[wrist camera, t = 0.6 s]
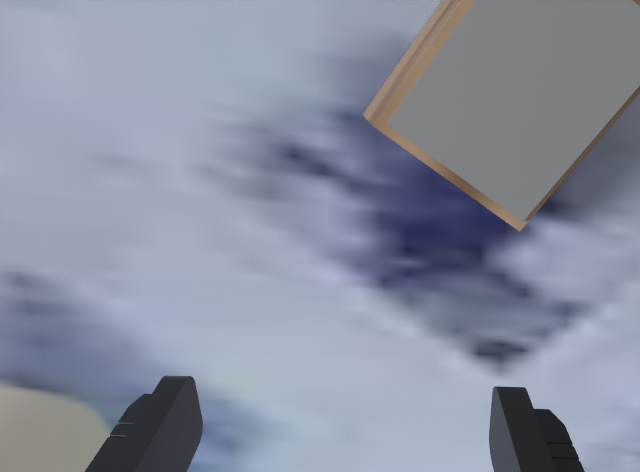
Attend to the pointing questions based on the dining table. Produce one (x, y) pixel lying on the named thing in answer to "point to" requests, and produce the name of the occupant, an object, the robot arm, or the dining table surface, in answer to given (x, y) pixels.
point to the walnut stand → (511, 94)
